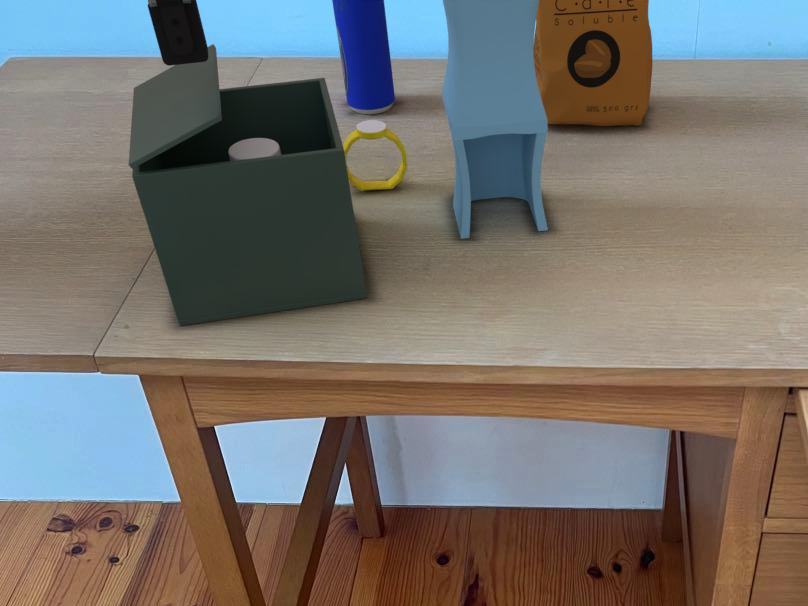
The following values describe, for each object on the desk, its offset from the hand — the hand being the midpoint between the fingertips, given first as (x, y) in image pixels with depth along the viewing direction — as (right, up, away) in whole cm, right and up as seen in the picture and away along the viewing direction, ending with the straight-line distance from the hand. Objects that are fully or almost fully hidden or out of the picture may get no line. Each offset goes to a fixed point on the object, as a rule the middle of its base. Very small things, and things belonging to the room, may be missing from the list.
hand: (186, 59), depth 73 cm
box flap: (-1, -2, +2) cm, 4 cm away
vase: (+22, -5, +19) cm, 30 cm away
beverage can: (+7, +12, +36) cm, 39 cm away
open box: (+3, -12, +13) cm, 18 cm away
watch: (+10, -1, +23) cm, 25 cm away
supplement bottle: (+3, -11, +13) cm, 18 cm away
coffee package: (+31, +10, +34) cm, 47 cm away
